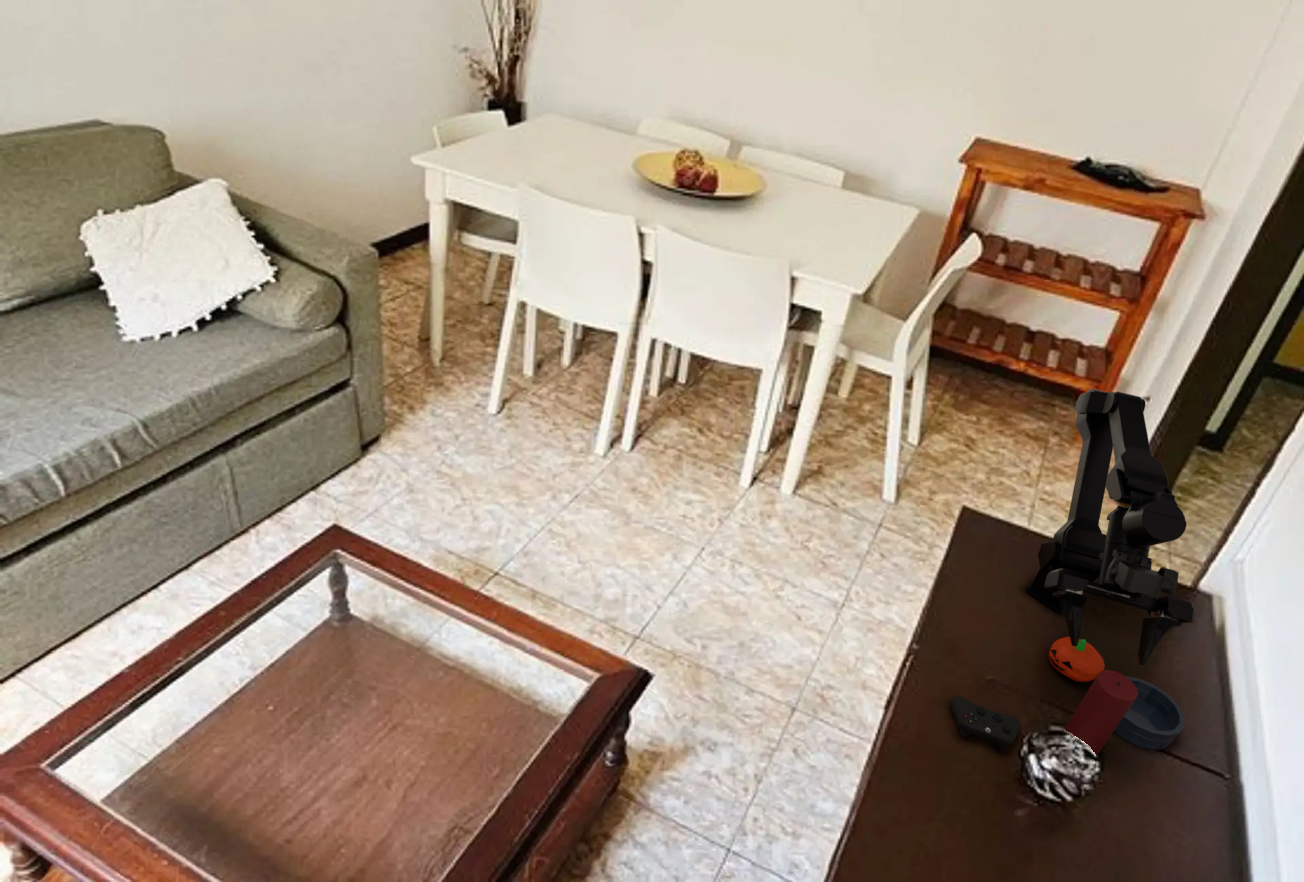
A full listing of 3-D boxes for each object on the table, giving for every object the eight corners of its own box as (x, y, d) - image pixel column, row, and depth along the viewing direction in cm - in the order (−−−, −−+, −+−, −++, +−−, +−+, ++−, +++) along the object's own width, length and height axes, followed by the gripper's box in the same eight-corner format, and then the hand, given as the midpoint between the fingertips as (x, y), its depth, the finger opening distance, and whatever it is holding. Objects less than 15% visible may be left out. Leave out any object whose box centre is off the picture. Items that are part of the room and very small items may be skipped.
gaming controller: (1018, 717, 127) (1029, 720, 121) (1008, 754, 126) (1020, 758, 120) (951, 693, 129) (959, 695, 123) (941, 729, 128) (949, 733, 122)
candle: (1053, 741, 125) (1093, 677, 118) (1070, 724, 128) (1110, 661, 121) (1087, 767, 122) (1130, 703, 115) (1103, 749, 125) (1146, 686, 118)
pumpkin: (1092, 697, 133) (1110, 669, 130) (1039, 671, 136) (1056, 643, 133) (1099, 669, 139) (1116, 641, 135) (1048, 645, 142) (1064, 617, 138)
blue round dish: (1086, 712, 131) (1096, 696, 129) (1117, 681, 137) (1127, 666, 135) (1155, 762, 125) (1166, 747, 123) (1184, 728, 131) (1195, 712, 129)
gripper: (1082, 524, 120) (1061, 635, 117) (1224, 561, 118) (1207, 676, 114) (1053, 534, 131) (1033, 636, 128) (1182, 568, 128) (1165, 674, 125)
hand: (1107, 655), depth 124 cm, fingers open, 9 cm apart
